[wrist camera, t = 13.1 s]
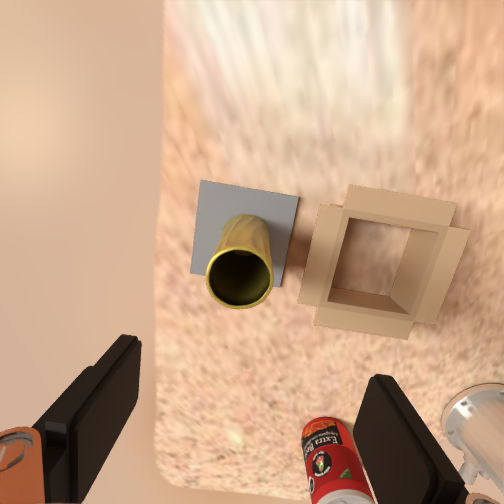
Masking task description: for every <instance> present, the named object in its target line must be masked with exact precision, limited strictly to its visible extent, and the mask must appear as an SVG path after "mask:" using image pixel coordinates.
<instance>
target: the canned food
mask: <svg viewBox="0 0 504 504" xmlns="http://www.w3.org/2000/svg"><path fill="white" fill-rule="evenodd" d="M301 441H302V448H303V454H304V460H305V466H306V472H307V477H308V483H309V489H310V495H311V501H312V504H375V502H374V499H373V497H372V494H371V491H370V488H369V485H368V483H367V480H366V477H365V475H364V472H363V469H362V467H361V464H360V461H359V459H358V456H357V453H356V451H355V448H354V445H353V443H352V440H351V437H350V434H349V432H348V430H347V429H346V428H345V426H344V425H343V424H342V423H341V422H340V421H338V420H336V419H334V418H330V417H321V418H317V419H314V420H312V421H310V422H309V423H308V424H307V425H306V426H305V427H304V429H303V432H302V439H301Z"/></svg>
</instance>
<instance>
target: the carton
mask: <svg viewBox="0 0 504 504" xmlns="http://www.w3.org/2000/svg"><path fill="white" fill-rule="evenodd" d="M457 204H458V203H453V202H447V201H442V200H436V199H430V198H425V197H419V196H413V195H407V194H402V193H396V192H390V191H384V190H379V189H373V188H367V187H361V186H356V185H350V184H349V185H348V189H347V193H346V197H345V201H344V205H343V206H340V205H334V204H331V206H327V205H322V204H320V206H319V210H318V215H317V219H316V223H315V228H314V232H313V236H312V241H311V245H310V249H309V253H308V258H307V262H306V266H305V271H304V275H303V279H302V284H301V288H300V292H299V297H298V301H297V303H298V304H305V305H311V306H317V311H316V315H315V318H314V322H313V324H314V326H321V327H327V328H334V329H340V330H347V331H353V332H360V333H366V334H372V335H379V336H385V337H392V338H398V339H405V340H408V337H409V334H410V332H411V329H412V326H413V323H414V322H419V323H425V324H432V325H435V322H436V320H437V317H438V314H439V312H440V309H441V307H442V304H443V302H444V299H445V297H446V294H447V292H448V289H449V286H450V284H451V281H452V279H453V276H454V274H455V271H456V269H457V266H458V263H459V261H460V258H461V256H462V253H463V251H464V248H465V246H466V243H467V241H468V238H469V235H470V233H471V230H468V229H462V228H456V227H450V223H451V220H452V218H453V215H454V212H455V209H456V207H457ZM349 217H351V218H357V219H363V220H369V221H374V222H380V223H386V224H392V225H398V226H404V227H410V228H412V230H411V233H410V236H409V239H408V242H407V245H406V248H405V251H404V254H403V257H402V260H401V263H400V266H399V269H398V272H397V275H396V278H395V281H394V284H393V287H392V290H391V293H390V296H389V297H388V296H382V295H376V294H370V293H364V292H357V291H351V290H345V289H339V288H332V287H331V284H332V281H333V277H334V273H335V269H336V266H337V262H338V258H339V254H340V250H341V247H342V243H343V239H344V235H345V232H346V228H347V224H348V220H349Z"/></svg>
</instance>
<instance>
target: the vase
mask: <svg viewBox="0 0 504 504" xmlns="http://www.w3.org/2000/svg"><path fill="white" fill-rule="evenodd" d="M269 243H270V234H269V230H268V228H267V226H266V224H265V223H264V222H263V221H262V220H261V219H259V218H258V217H256V216H254V215H248V214H242V215H238V216H235V217H233V218H232V219H230V220H229V221H228V222H227V223H226V224H225V226H224V228H223V230H222V234H221V238H220V241H219V244H218V246H217V248H216V250H215V252H214V254H213V256H212V258H211V260H210V262H209V264H208V266H207V268H206V286H207V289H208V291H209V293H210V294H211V296H212V297H213V298H214V299H215V300H216V301H217V302H219V303H220V304H222V305H223V306H225V307H228V308H231V309H247V308H252V307H254V306H256V305H258V304H260V303H262V302H263V301H264V300H265V299H266V297H267V296H268V295H269V293H270V292H271V290H272V287H273V283H274V272H273V265H272V260H271V255H270V247H269Z"/></svg>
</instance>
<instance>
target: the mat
mask: <svg viewBox="0 0 504 504" xmlns="http://www.w3.org/2000/svg"><path fill="white" fill-rule="evenodd" d="M298 198H299V197H297V196H291V195H285V194H279V193H274V192H268V191H262V190H256V189H250V188H244V187H239V186H233V185H227V184H221V183H215V182H209V181H204V180H200V189H199V198H198V207H197V216H196V225H195V234H194V243H193V252H192V261H191V270H190V273H192V274H198V275H204V276H206V268H207V266H208V264H209V262H210V260H211V258H212V256H213V254H214V252H215V250H216V248H217V246H218V244H219V241H220V238H221V234H222V230H223V228H224V226H225V224H226V223H227V222H228V221H229V220H230V219H232V218H233V217H235V216H238V215H242V214H248V215H254V216H256V217H258V218H259V219H261V220H262V221H263V222H264V223H265V224H266V226H267V228H268V230H269V234H270V243H269V247H270V255H271V260H272V265H273V272H274V283H273V287H279V288H280V284H281V279H282V274H283V270H284V265H285V260H286V255H287V250H288V246H289V241H290V236H291V231H292V227H293V222H294V217H295V212H296V207H297V203H298Z"/></svg>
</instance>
